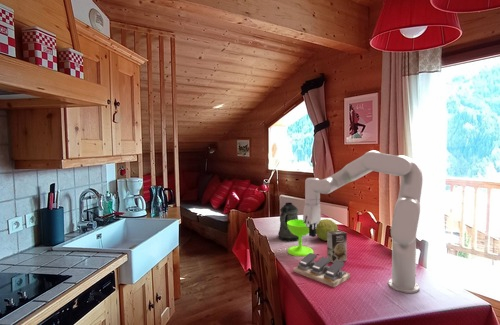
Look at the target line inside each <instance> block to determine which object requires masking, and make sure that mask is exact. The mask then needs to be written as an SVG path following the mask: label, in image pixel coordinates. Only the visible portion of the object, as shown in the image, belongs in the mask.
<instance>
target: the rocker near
mask: <svg viewBox="0 0 500 325" xmlns="http://www.w3.org/2000/svg"><path fill="white" fill-rule="evenodd" d="M329 266H330V268H329V269H328V270H327V271H326V272H325V274H326V275H328V276H331V277H333V278H334V277H335V276H336V275H337V273H338V272H339V271H340V270H342V269H343V267H344V266H345V262H344V261H343V262H340V261H337V260H336V261H335V262H334V263H332V264H331V265H329Z"/></svg>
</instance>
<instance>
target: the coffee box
mask: <svg viewBox="0 0 500 325" xmlns="http://www.w3.org/2000/svg"><path fill="white" fill-rule="evenodd" d="M347 240H348V232H345V231H342V230H338V231H330V232H327V240H326V241H327V242H326V245H327V246H326V248H327V249H326V254H327V256H326V258H328V259H330V262H331V263H332V264H333V263H334V262H335V261H336V260H337V261H340V262H343V263H344V262H347V261H348V258H347V256H348V250H347V248H348V247H347V246H348V245H347Z"/></svg>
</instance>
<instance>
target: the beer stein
mask: <svg viewBox="0 0 500 325" xmlns="http://www.w3.org/2000/svg"><path fill="white" fill-rule="evenodd" d="M298 212H299V209H298V208H297V207H296V206H295V205H294V204H293V202H285V203H284V205H283V206H282V207H281V208H280V213H281V214H280V216H279V222H280V225H279V231H278V233H277V235H278V239H280V241H284V242H297V241H298V242H299V236H296V235H294V234H293V233H291V232H290V230H289V229H288V226H287V222H288V221H290V220H299V216H298Z"/></svg>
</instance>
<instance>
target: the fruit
mask: <svg viewBox="0 0 500 325" xmlns="http://www.w3.org/2000/svg"><path fill="white" fill-rule="evenodd" d="M330 231H339V230H338V225H337V223H336V222H334V221H333V220H331V219H328V218H327V219H326V218H325V219H321V220H320V221H319V223H318V224H317V228H316V237H318V239H320V240H322V241H327V232H330Z"/></svg>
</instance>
